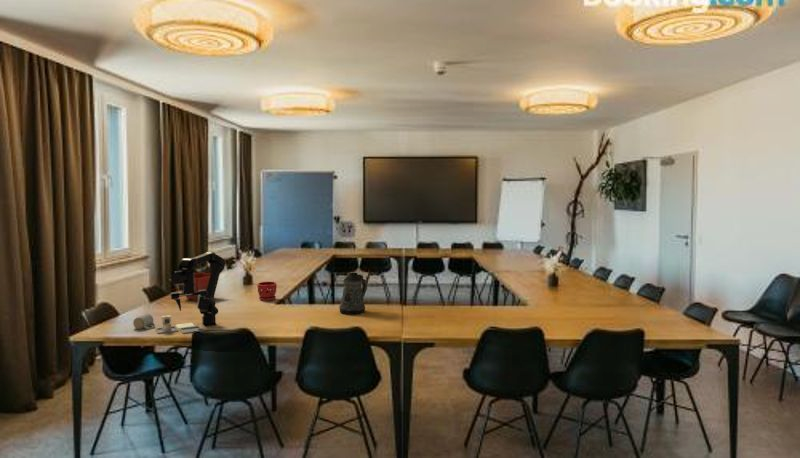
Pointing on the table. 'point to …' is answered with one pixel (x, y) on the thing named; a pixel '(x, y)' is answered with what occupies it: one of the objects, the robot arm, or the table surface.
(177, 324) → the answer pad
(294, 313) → the table surface
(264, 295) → the plant pot
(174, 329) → the tray
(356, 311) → the beer stein
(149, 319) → the ceramic mug
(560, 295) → the table surface
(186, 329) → the tray
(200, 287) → the plant pot
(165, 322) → the tan rectangular block
